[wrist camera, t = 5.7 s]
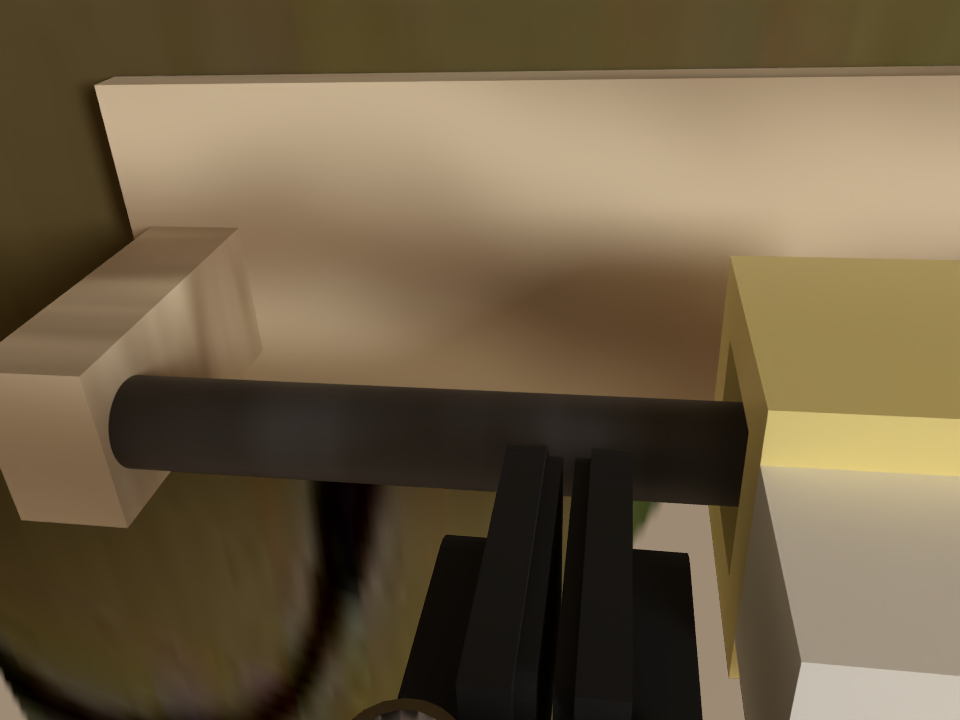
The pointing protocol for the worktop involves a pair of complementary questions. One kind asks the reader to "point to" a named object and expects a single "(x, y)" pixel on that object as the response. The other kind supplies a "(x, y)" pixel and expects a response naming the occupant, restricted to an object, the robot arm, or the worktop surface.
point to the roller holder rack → (452, 272)
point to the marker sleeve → (843, 488)
